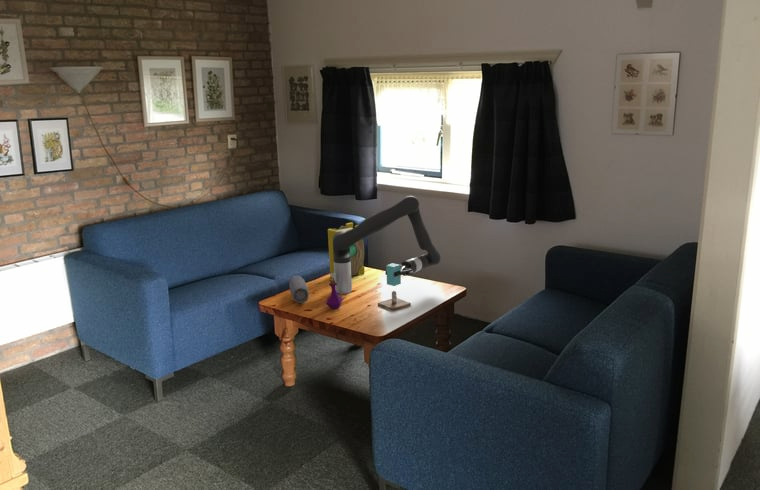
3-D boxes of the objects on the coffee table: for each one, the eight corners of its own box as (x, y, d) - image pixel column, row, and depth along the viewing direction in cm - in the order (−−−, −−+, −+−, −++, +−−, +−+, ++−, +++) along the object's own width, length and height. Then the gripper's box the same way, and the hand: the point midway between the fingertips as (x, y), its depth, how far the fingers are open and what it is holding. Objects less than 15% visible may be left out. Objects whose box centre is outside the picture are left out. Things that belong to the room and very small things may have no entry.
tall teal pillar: (386, 284, 332) (386, 265, 330) (393, 281, 336) (392, 263, 333) (394, 286, 329) (393, 267, 327) (400, 283, 333) (400, 264, 330)
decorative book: (339, 280, 379) (337, 230, 372) (328, 276, 388) (325, 227, 380) (366, 273, 392) (364, 224, 385) (354, 269, 400) (352, 221, 393)
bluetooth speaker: (310, 304, 341) (309, 286, 339) (292, 306, 340) (291, 287, 337) (306, 291, 363) (305, 273, 360) (289, 292, 361) (288, 275, 359)
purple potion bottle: (339, 310, 332) (338, 276, 327) (325, 309, 333) (323, 275, 329) (343, 305, 339) (342, 271, 334) (329, 304, 340) (327, 271, 336)
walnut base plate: (377, 305, 336) (377, 290, 335) (396, 300, 344) (395, 285, 342) (392, 311, 327) (392, 296, 325) (410, 305, 334) (410, 291, 332)
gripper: (400, 256, 345) (379, 264, 333) (422, 261, 336) (400, 269, 323) (401, 270, 347) (379, 278, 335) (422, 275, 337) (401, 283, 325)
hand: (390, 273), depth 329 cm, fingers closed on tall teal pillar, 5 cm apart
